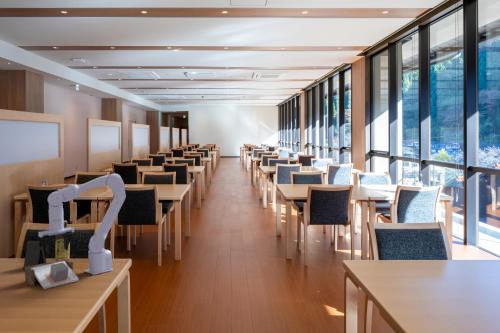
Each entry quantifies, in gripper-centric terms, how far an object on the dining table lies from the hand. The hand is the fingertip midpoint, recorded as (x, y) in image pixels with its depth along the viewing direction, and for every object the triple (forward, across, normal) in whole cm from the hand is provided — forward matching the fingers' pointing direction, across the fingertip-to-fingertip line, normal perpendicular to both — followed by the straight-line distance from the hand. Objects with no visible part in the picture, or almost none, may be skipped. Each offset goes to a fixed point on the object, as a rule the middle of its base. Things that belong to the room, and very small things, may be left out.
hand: (57, 251), depth 197 cm
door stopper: (+11, -2, +20) cm, 23 cm away
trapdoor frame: (+10, -5, -3) cm, 12 cm away
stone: (+8, -5, -12) cm, 15 cm away
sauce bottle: (+11, +10, +18) cm, 23 cm away
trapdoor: (+8, -5, -8) cm, 13 cm away
